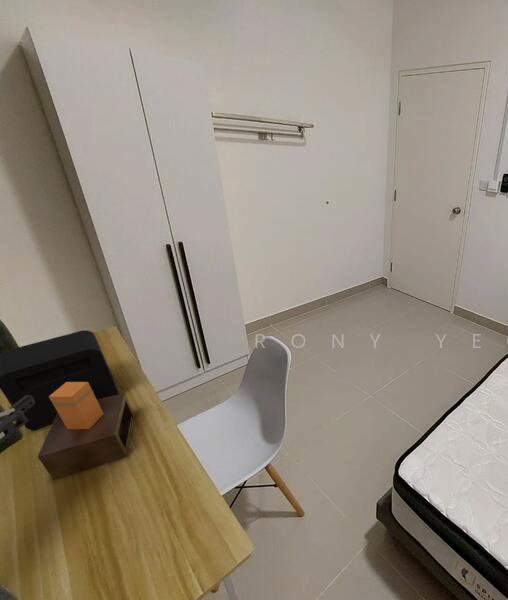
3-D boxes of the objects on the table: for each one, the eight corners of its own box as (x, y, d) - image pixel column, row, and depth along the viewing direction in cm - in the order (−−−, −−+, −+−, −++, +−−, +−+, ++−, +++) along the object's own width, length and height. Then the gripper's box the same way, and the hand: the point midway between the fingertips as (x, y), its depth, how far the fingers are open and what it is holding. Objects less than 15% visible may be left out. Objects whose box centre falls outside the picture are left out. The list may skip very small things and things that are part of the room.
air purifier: (113, 374, 111) (91, 325, 102) (121, 397, 103) (99, 346, 94) (28, 404, 98) (-6, 350, 89) (29, 433, 90) (-8, 377, 80)
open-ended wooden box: (54, 481, 79) (37, 456, 75) (72, 432, 91) (58, 408, 87) (126, 458, 85) (115, 434, 81) (134, 415, 97) (124, 392, 93)
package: (89, 429, 82) (71, 396, 77) (67, 429, 81) (48, 396, 76) (103, 413, 86) (88, 381, 81) (83, 413, 86) (66, 381, 81)
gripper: (-129, 490, 52) (-22, 411, 67) (-29, 487, 54) (55, 411, 68) (-164, 459, 49) (-43, 384, 63) (-56, 457, 50) (38, 384, 64)
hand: (8, 398), depth 65 cm, fingers open, 8 cm apart
